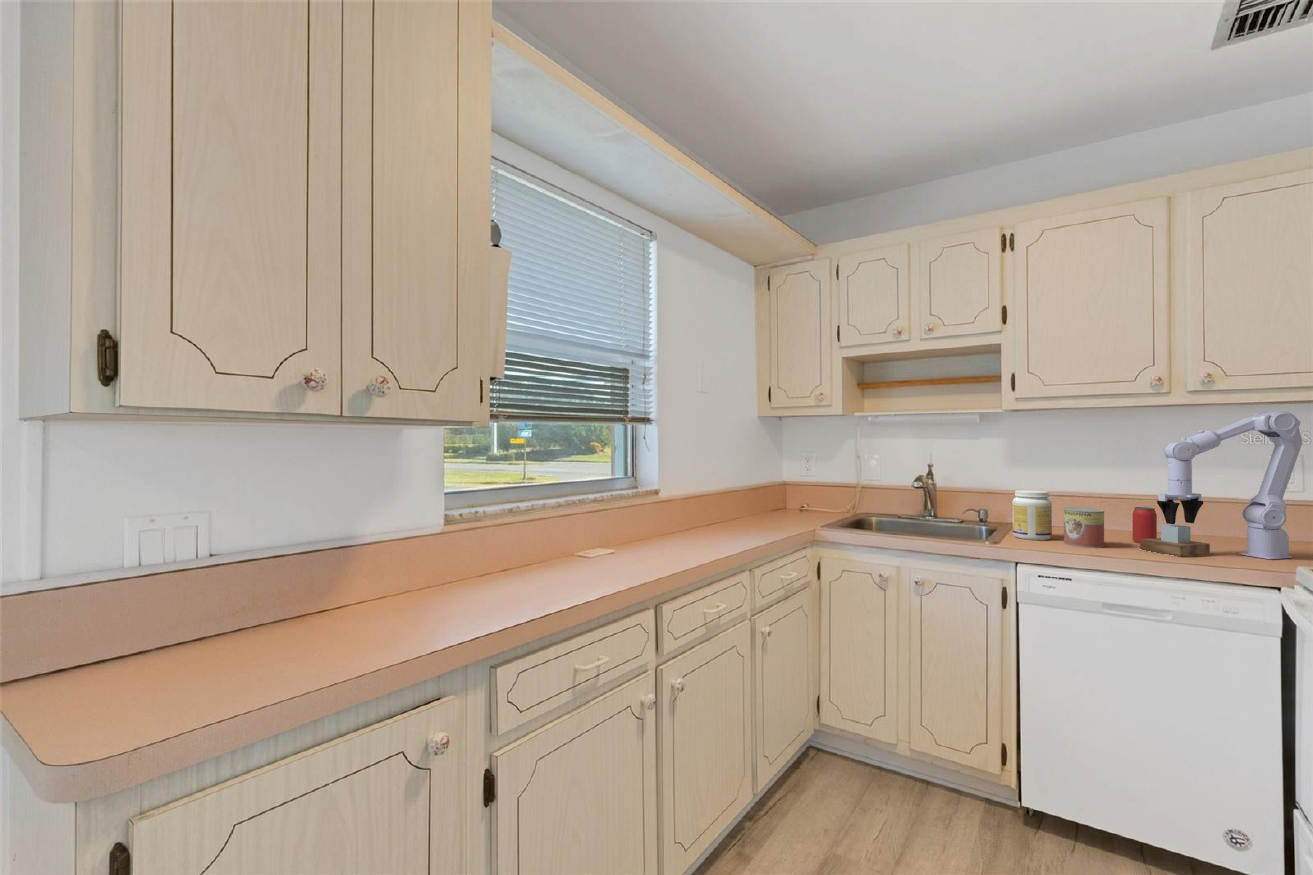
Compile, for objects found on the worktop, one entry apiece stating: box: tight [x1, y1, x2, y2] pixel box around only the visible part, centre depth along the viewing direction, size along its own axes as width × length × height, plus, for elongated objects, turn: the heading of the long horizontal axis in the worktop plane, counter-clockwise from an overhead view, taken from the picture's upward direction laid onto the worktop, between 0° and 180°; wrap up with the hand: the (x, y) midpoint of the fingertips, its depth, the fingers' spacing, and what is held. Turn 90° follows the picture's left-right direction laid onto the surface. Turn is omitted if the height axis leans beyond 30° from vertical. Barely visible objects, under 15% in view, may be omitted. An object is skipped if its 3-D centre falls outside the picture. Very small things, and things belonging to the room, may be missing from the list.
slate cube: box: [1160, 524, 1191, 543], centre depth 192 cm, size 5×5×5 cm
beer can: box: [1132, 506, 1158, 544], centre depth 211 cm, size 7×7×12 cm
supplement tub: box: [1011, 489, 1053, 541], centre depth 221 cm, size 12×12×17 cm
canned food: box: [1063, 507, 1105, 549], centre depth 207 cm, size 11×11×12 cm
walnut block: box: [1139, 537, 1211, 558], centre depth 193 cm, size 12×12×4 cm
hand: (1180, 523), depth 192 cm, fingers open, 7 cm apart
